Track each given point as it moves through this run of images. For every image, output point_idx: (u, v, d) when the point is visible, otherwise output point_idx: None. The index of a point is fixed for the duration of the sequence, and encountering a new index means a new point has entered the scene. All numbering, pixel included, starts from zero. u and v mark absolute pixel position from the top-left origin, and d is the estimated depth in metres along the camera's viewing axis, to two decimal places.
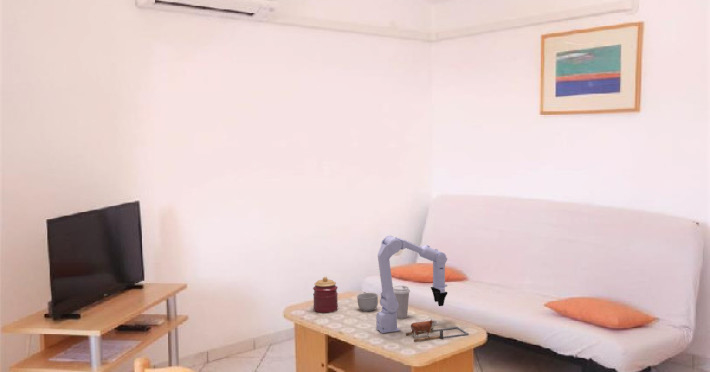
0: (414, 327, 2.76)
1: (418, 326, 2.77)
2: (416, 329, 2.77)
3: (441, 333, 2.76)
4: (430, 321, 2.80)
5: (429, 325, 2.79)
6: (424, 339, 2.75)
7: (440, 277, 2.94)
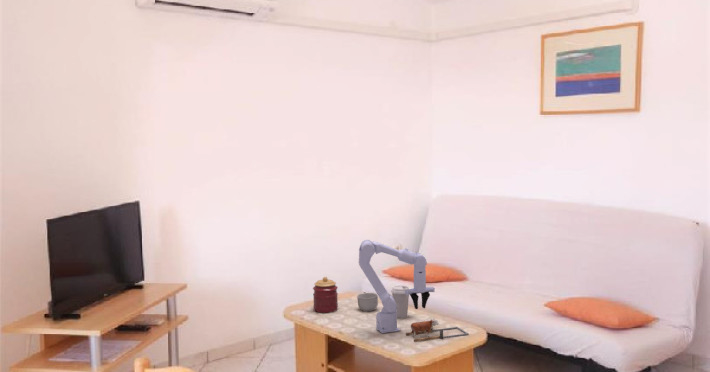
0: (414, 327, 2.76)
1: (418, 326, 2.77)
2: (416, 329, 2.77)
3: (441, 333, 2.76)
4: (430, 321, 2.80)
5: (429, 325, 2.79)
6: (424, 339, 2.75)
7: (414, 280, 2.89)
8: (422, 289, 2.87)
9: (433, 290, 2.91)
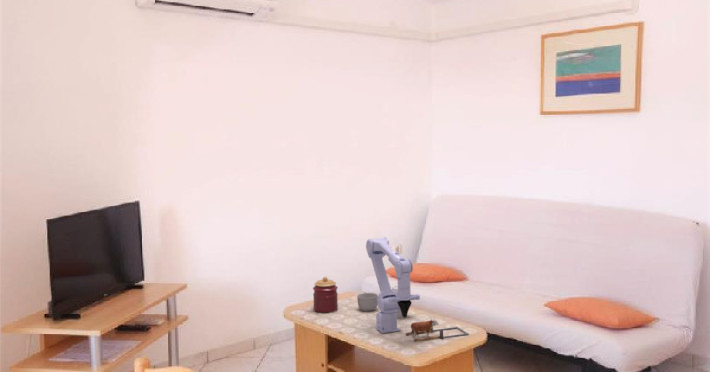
0: (414, 327, 2.76)
1: (418, 326, 2.77)
2: (416, 329, 2.77)
3: (441, 333, 2.76)
4: (430, 321, 2.80)
5: (429, 325, 2.79)
6: (424, 339, 2.75)
7: (398, 287, 2.75)
8: (406, 297, 2.74)
9: (418, 298, 2.78)
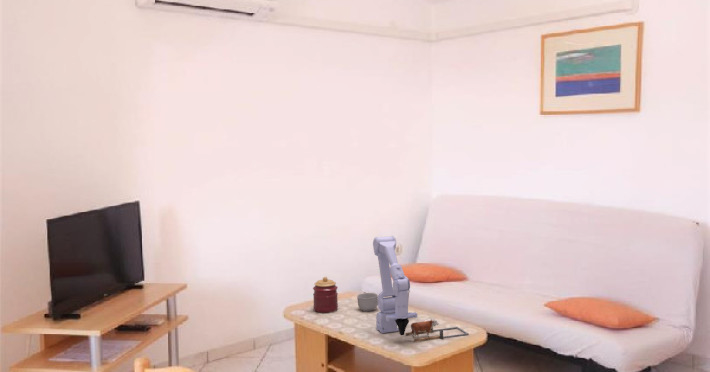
0: (414, 327, 2.76)
1: (418, 326, 2.77)
2: (416, 329, 2.77)
3: (441, 333, 2.76)
4: (430, 321, 2.80)
5: (429, 325, 2.79)
6: (424, 339, 2.75)
7: (395, 305, 2.74)
8: (404, 315, 2.73)
9: (416, 316, 2.77)
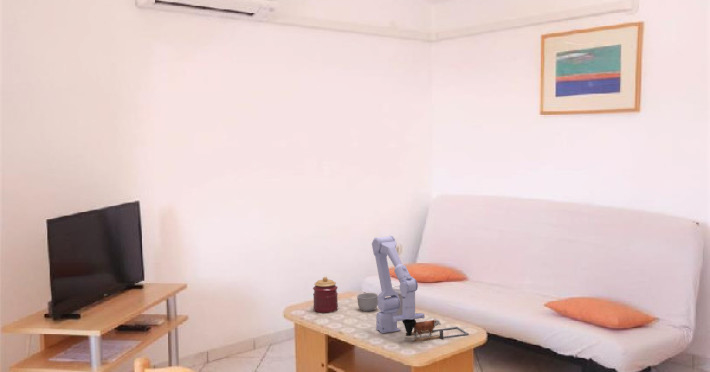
0: (416, 327, 2.77)
1: (420, 326, 2.77)
2: (418, 329, 2.77)
3: (441, 333, 2.76)
4: (432, 321, 2.80)
5: (431, 325, 2.79)
6: (424, 339, 2.75)
7: (403, 306, 2.76)
8: (411, 316, 2.74)
9: (423, 316, 2.78)
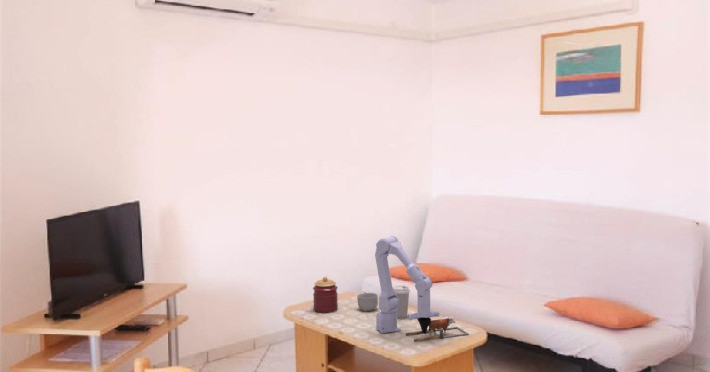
0: (431, 325, 2.79)
1: (435, 324, 2.79)
2: (433, 327, 2.79)
3: (441, 333, 2.76)
4: (447, 319, 2.83)
5: (446, 323, 2.82)
6: (424, 339, 2.75)
7: (418, 304, 2.78)
8: (426, 314, 2.77)
9: (438, 314, 2.81)
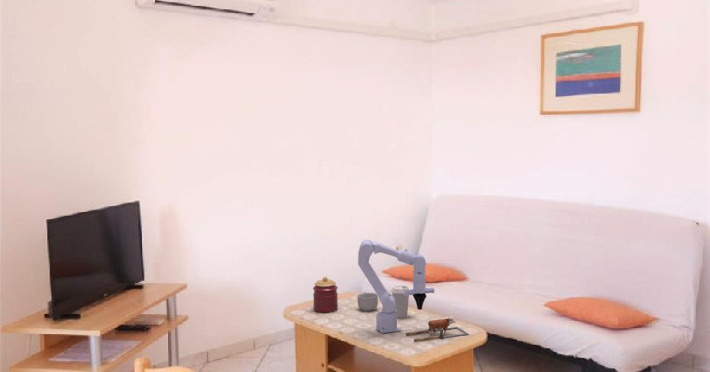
0: (431, 325, 2.79)
1: (435, 324, 2.79)
2: (433, 327, 2.79)
3: (441, 333, 2.76)
4: (447, 319, 2.83)
5: (446, 323, 2.82)
6: (424, 339, 2.75)
7: (413, 281, 2.87)
8: (422, 290, 2.86)
9: (433, 291, 2.89)
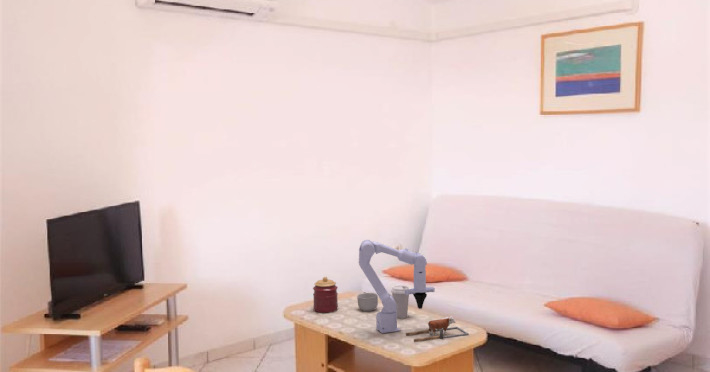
0: (431, 325, 2.79)
1: (435, 324, 2.79)
2: (433, 327, 2.79)
3: (441, 333, 2.76)
4: (447, 319, 2.83)
5: (446, 323, 2.82)
6: (424, 339, 2.75)
7: (414, 280, 2.88)
8: (422, 289, 2.87)
9: (433, 290, 2.91)
